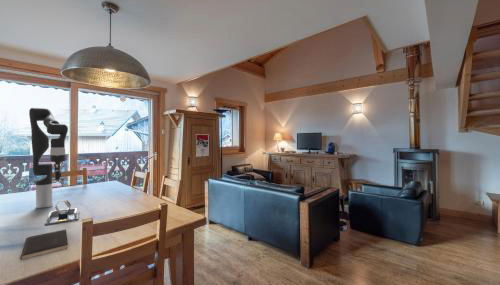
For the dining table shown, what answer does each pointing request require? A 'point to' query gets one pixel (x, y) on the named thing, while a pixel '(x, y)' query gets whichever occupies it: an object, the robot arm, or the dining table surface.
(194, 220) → the dining table surface
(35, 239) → the hardcover book
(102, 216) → the dining table surface
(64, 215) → the watch
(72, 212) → the rack
